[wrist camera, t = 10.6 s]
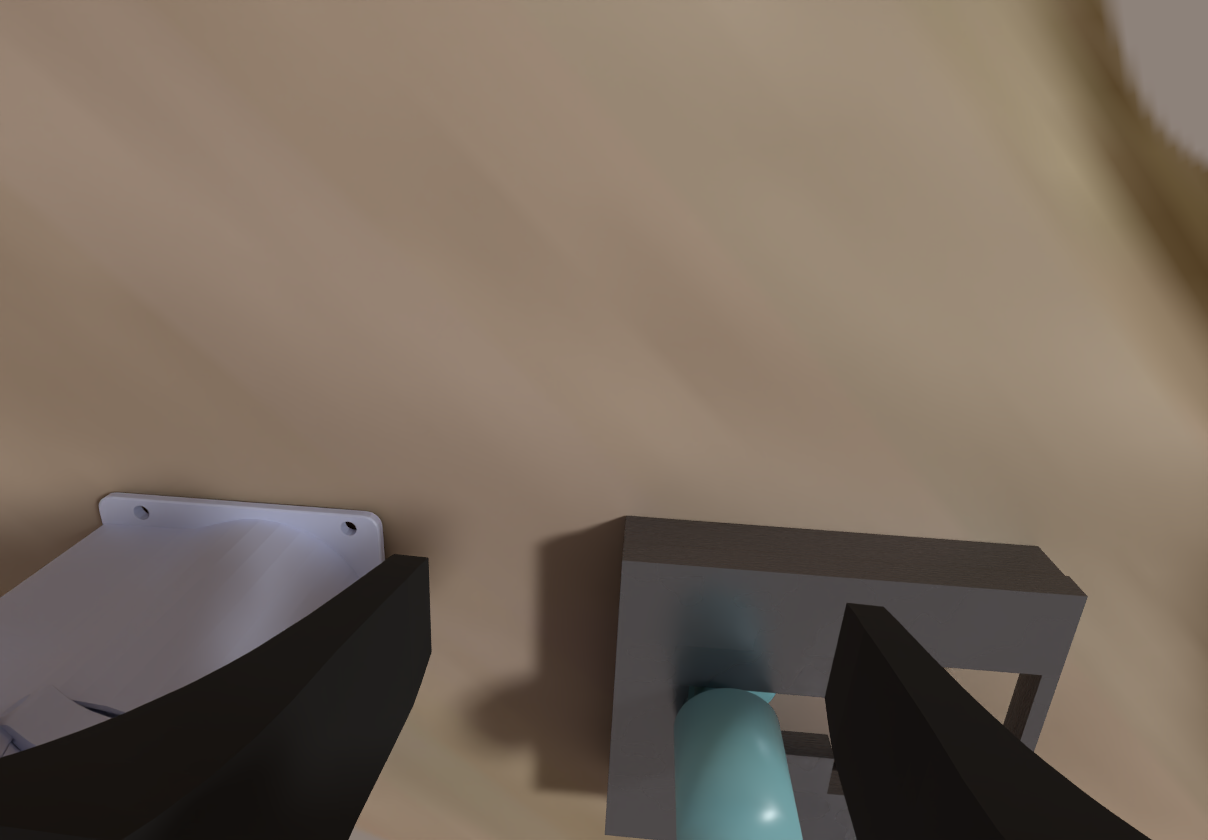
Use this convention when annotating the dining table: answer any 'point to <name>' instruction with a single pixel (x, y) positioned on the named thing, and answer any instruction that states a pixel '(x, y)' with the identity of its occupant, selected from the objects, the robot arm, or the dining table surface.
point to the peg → (732, 769)
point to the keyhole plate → (809, 639)
